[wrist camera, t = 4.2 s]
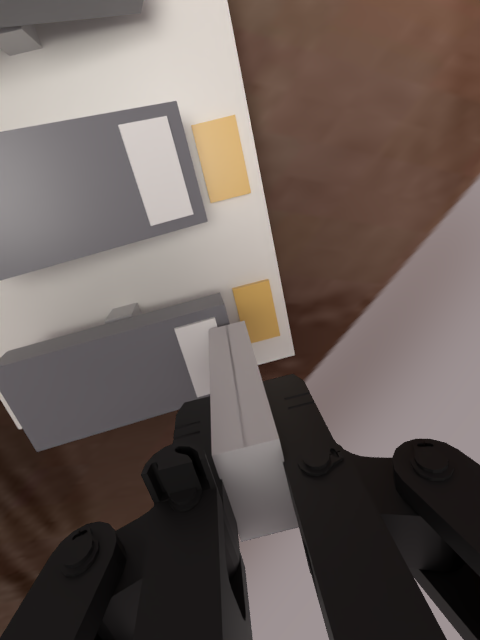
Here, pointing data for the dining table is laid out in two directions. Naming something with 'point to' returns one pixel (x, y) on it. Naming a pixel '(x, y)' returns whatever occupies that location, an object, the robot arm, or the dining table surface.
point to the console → (207, 156)
